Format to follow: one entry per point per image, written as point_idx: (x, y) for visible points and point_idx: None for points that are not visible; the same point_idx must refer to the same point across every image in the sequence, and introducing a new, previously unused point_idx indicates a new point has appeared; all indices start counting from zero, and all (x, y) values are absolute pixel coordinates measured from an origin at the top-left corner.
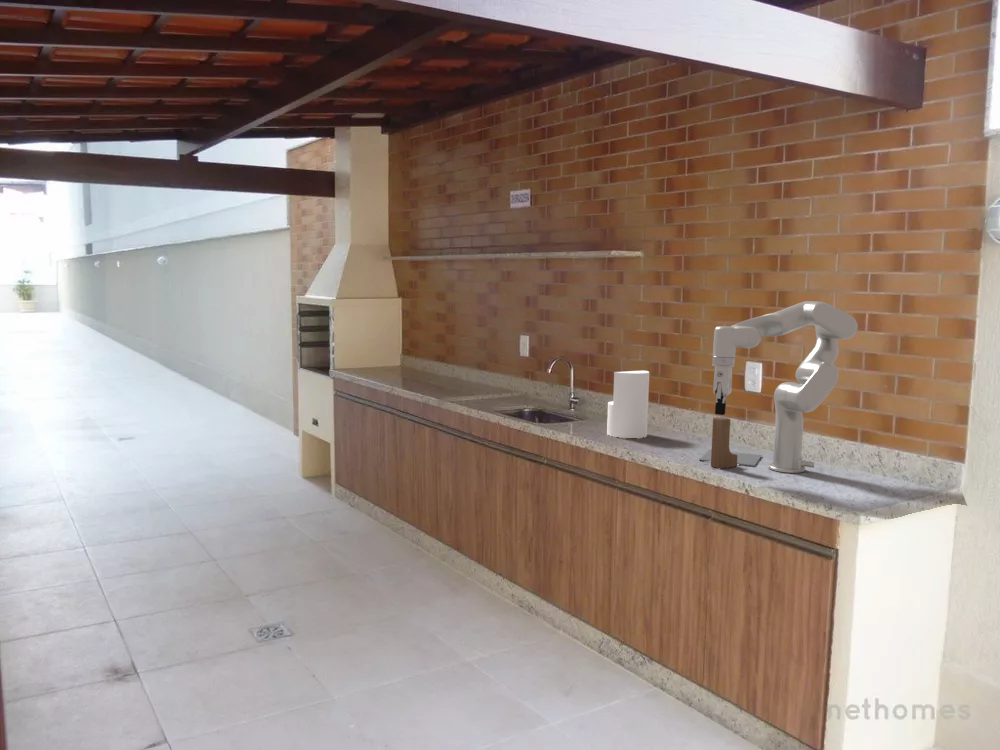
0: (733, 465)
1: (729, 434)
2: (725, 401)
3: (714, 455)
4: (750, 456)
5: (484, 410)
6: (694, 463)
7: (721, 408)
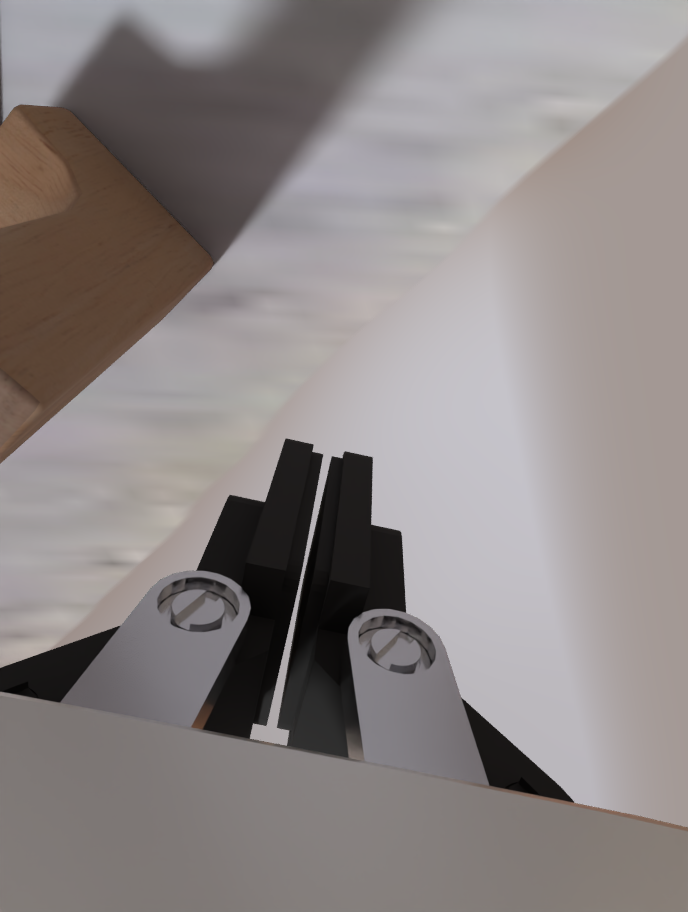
0: (96, 141)
1: (14, 227)
2: (158, 591)
3: (154, 323)
4: None
5: None
6: (98, 422)
7: (403, 580)
